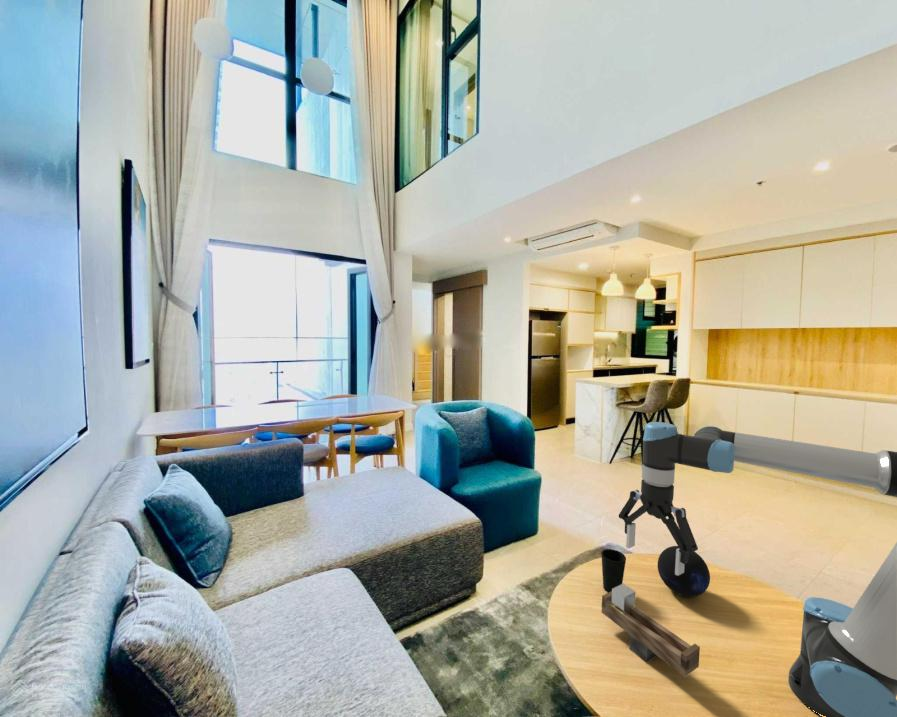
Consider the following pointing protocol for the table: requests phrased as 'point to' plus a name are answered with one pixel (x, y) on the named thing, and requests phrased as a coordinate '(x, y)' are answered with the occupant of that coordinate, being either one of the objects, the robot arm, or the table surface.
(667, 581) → the decorative sphere
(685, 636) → the table surface
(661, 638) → the beam
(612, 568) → the cup
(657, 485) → the robot arm
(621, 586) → the block
